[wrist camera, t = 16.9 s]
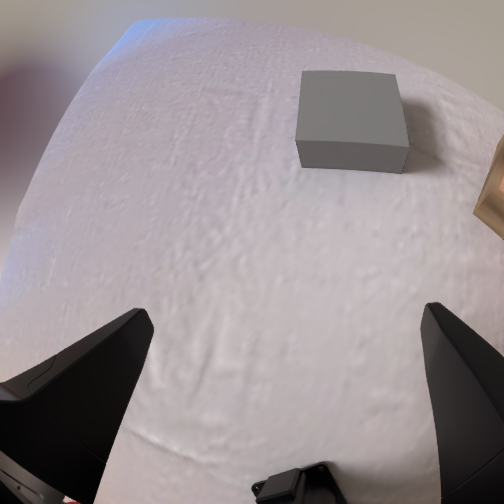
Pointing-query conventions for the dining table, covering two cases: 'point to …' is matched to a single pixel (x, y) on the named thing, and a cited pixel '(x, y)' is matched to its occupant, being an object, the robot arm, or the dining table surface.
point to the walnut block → (493, 194)
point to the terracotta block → (502, 186)
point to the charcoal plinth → (351, 122)
